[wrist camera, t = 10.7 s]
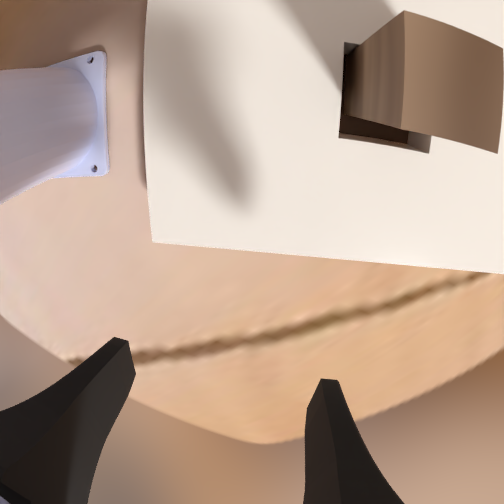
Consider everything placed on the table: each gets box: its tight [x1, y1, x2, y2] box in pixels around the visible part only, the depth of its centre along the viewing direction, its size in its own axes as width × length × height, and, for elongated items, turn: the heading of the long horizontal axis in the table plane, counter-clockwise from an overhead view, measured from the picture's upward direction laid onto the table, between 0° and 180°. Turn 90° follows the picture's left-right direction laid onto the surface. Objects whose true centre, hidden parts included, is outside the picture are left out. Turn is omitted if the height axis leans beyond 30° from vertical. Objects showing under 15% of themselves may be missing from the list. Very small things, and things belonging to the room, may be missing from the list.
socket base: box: [143, 0, 504, 274], centre depth 12 cm, size 22×16×3 cm
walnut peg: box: [343, 10, 504, 154], centre depth 9 cm, size 3×3×9 cm
